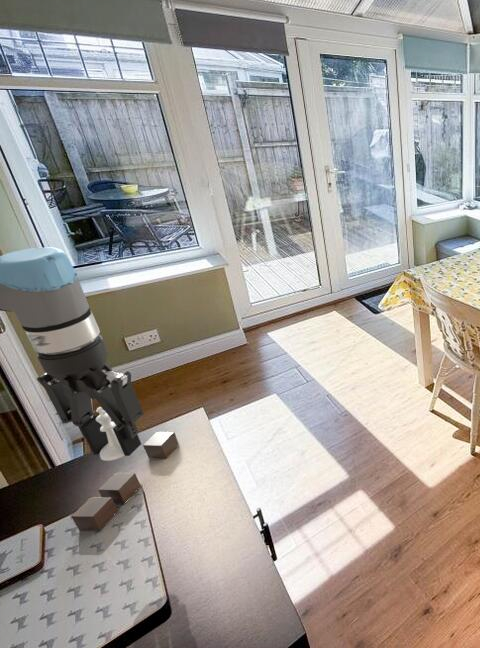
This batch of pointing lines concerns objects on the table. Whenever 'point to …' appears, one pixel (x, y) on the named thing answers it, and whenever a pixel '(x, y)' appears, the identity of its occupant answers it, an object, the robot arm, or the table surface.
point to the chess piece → (109, 437)
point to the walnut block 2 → (120, 487)
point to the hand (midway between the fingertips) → (117, 448)
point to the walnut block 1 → (94, 513)
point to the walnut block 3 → (161, 445)
